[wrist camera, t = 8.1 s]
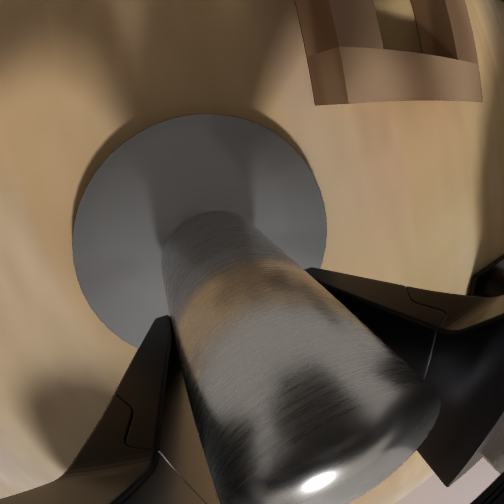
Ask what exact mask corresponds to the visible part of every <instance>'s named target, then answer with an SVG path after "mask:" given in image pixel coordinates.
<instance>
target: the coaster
mask: <svg viewBox="0 0 504 504" xmlns="http://www.w3.org/2000/svg"><path fill="white" fill-rule="evenodd" d="M208 211H227V212H232V213H235V214H238V215H240V216H242V217H244V218H245V219H247V220H248V221H249V222H250V223H252V224H253V225H254V226H255V227H256V228H257V229H259V230H260V231H261V232H262V233H263V234H264V235H265V236H267V237H268V238H269V239H270V240H271V241H272V242H273V243H274V244H276V245H277V246H278V247H279V248H280V249H281V250H282V251H284V252H285V253H286V254H287V255H288V256H289V257H290V258H291V259H293V260H294V261H295V262H296V263H297V264H298V265H299V266H300V267H302V268H303V269H307V268H310V267H314V268H319V269H320V267H321V264H322V261H323V257H324V252H325V247H326V237H327V221H326V212H325V206H324V201H323V198H322V195H321V191H320V188H319V186H318V184H317V182H316V179H315V177H314V175H313V173H312V172H311V170H310V169H309V167H308V165H307V164H306V162H305V161H304V160H303V158H302V157H301V156H300V155H299V154H298V153H297V152H296V150H295V149H294V148H293V147H292V146H290V145H289V144H288V143H287V142H286V141H285V140H283V139H282V138H281V137H279V136H278V135H276V134H275V133H273V132H272V131H270V130H268V129H267V128H265V127H262V126H260V125H258V124H256V123H253V122H251V121H248V120H244V119H241V118H237V117H234V116H227V115H219V114H194V115H188V116H182V117H177V118H173V119H170V120H167V121H164V122H161V123H158V124H155V125H153V126H151V127H149V128H147V129H145V130H143V131H141V132H139V133H137V134H136V135H134V136H133V137H132V138H130V139H129V140H127V141H126V142H124V143H123V144H122V145H120V146H119V147H118V148H117V149H116V150H115V151H114V152H113V153H112V154H111V155H110V156H109V157H108V158H107V159H106V160H105V161H104V162H103V164H102V165H101V166H100V167H99V169H98V170H97V171H96V173H95V174H94V176H93V177H92V179H91V181H90V182H89V184H88V186H87V188H86V189H85V192H84V194H83V197H82V199H81V202H80V204H79V207H78V210H77V214H76V218H75V223H74V230H73V241H72V246H73V261H74V266H75V271H76V275H77V279H78V282H79V284H80V287H81V290H82V292H83V294H84V296H85V298H86V300H87V302H88V303H89V305H90V307H91V308H92V310H93V311H94V312H95V314H96V315H97V317H98V318H99V319H100V320H101V321H102V322H103V323H104V324H105V325H106V326H107V327H108V328H109V329H110V330H111V331H112V332H113V333H114V334H116V335H117V336H118V337H120V338H121V339H122V340H124V341H125V342H127V343H129V344H131V345H132V346H134V347H136V348H138V349H139V347H140V345H141V343H142V341H143V340H144V338H145V336H146V334H147V332H148V331H149V329H150V327H151V325H152V323H153V322H154V320H155V319H156V318H158V317H161V316H165V315H169V310H168V304H167V299H166V294H165V288H164V282H163V277H162V270H161V258H162V253H163V250H164V247H165V244H166V242H167V240H168V238H169V237H170V235H171V234H172V233H173V231H174V230H175V229H176V228H177V227H178V226H179V225H180V224H182V223H183V222H184V221H186V220H187V219H189V218H191V217H193V216H195V215H197V214H200V213H203V212H208ZM169 316H170V315H169Z"/></svg>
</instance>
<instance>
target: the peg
mask: <svg viewBox="0 0 504 504" xmlns="http://www.w3.org/2000/svg"><path fill="white" fill-rule="evenodd" d="M161 270H162V277H163V282H164V288H165V294H166V299H167V304H168V310H169V315H170V319H171V324H172V329H173V334H174V338H175V343H176V348H177V353H178V357H179V362H180V366H181V370H182V374H183V378H184V382H185V387H186V391H187V394H188V398H189V402H190V406H191V410H192V413H193V417H194V421H195V424H196V428H197V431H198V435H199V438H200V442H201V445H202V448H203V452H204V455H205V458H206V462H207V465H208V468H209V471H210V474H211V477H212V480H213V483H214V486H215V489H216V492H217V495H218V498H219V501H220V504H348V503H350V502H352V501H353V500H355V499H357V498H359V497H360V496H362V495H363V494H365V493H367V492H368V491H370V490H371V489H373V488H374V487H375V486H377V485H378V484H380V483H381V482H382V481H384V480H385V479H386V478H387V477H389V476H390V475H391V474H392V473H393V472H395V471H396V470H397V469H398V468H399V467H400V466H401V465H402V464H403V463H404V462H405V461H406V460H407V459H408V458H409V457H410V456H411V455H412V454H413V453H414V452H415V451H416V450H417V448H418V447H419V446H420V445H421V444H422V442H423V441H424V440H425V438H426V437H427V435H428V434H429V432H430V431H431V429H432V427H433V426H434V424H435V422H436V420H437V417H438V414H439V412H440V407H441V398H440V395H439V394H438V392H437V391H436V390H435V389H434V388H433V387H432V386H430V385H429V384H428V383H427V382H426V381H425V380H424V379H423V378H422V377H421V376H420V375H419V374H418V373H417V372H416V371H415V370H413V369H412V368H411V367H410V366H409V365H408V364H407V363H406V362H405V361H404V360H403V359H402V358H401V357H400V356H398V355H397V354H396V353H395V352H394V351H393V350H392V349H391V348H390V347H389V346H388V345H387V344H385V343H384V342H383V341H382V340H381V339H380V338H379V337H378V336H377V335H376V334H375V333H374V332H372V331H371V330H370V329H369V328H368V327H367V326H366V325H365V324H364V323H363V322H362V321H360V320H359V319H358V318H357V317H356V316H355V315H354V314H353V313H352V312H351V311H349V310H348V309H347V308H346V307H345V306H344V305H343V304H342V303H341V302H340V301H338V300H337V299H336V298H335V297H334V296H333V295H332V294H331V293H330V292H328V291H327V290H326V289H325V288H324V287H323V286H322V285H321V284H320V283H318V282H317V281H316V280H315V279H314V278H313V277H312V276H311V275H309V274H308V273H307V272H306V271H305V270H304V269H303V268H302V267H300V266H299V265H298V264H297V263H296V262H295V261H294V260H293V259H291V258H290V257H289V256H288V255H287V254H286V253H285V252H284V251H282V250H281V249H280V248H279V247H278V246H277V245H276V244H274V243H273V242H272V241H271V240H270V239H269V238H268V237H267V236H265V235H264V234H263V233H262V232H261V231H260V230H259V229H257V228H256V227H255V226H254V225H253V224H252V223H250V222H249V221H248V220H247V219H245V218H244V217H242V216H240V215H238V214H235V213H232V212H227V211H208V212H203V213H200V214H197V215H195V216H193V217H191V218H189V219H187V220H186V221H184V222H183V223H182V224H180V225H179V226H178V227H177V228H176V229H175V230H174V231H173V233H172V234H171V235H170V237H169V238H168V240H167V242H166V244H165V247H164V250H163V253H162V258H161Z"/></svg>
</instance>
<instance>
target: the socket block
mask: <svg viewBox="0 0 504 504" xmlns="http://www.w3.org/2000/svg"><path fill="white" fill-rule="evenodd" d="M411 3H412V7H413V11H414V15H415V19H416V23H417V28H418V32H419V37H420V42H421V47H422V53H423V54H422V53H415V52H407V51H398V50H388V49H384V48H383V43H382V38H381V34H380V29H379V24H378V20H377V16H376V11H375V7H374V3H373V0H295V4H296V8H297V12H298V17H299V21H300V26H301V30H302V35H303V40H304V45H305V50H306V55H307V60H308V65H309V71H310V76H311V82H312V88H313V94H314V100H315V105H330V104H350V103H364V102H381V101H410V100H444V101H471V102H483V98H482V88H481V80H480V72H479V65H478V59H477V53H476V47H475V42H474V37H473V32H472V28H471V23H470V19H469V15H468V11H467V7H466V4H465V0H411Z"/></svg>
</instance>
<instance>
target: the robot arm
mask: <svg viewBox="0 0 504 504" xmlns="http://www.w3.org/2000/svg"><path fill="white" fill-rule="evenodd" d="M304 270H305V271H306V272H307V273H308V274H309V275H311V276H312V277H313V278H314V279H315V280H316V281H317V282H318V283H320V284H321V285H322V286H323V287H324V288H325V289H326V290H327V291H328V292H330V293H331V294H332V295H333V296H334V297H335V298H336V299H337V300H338V301H340V302H341V303H342V304H343V305H344V306H345V307H346V308H347V309H348V310H349V311H351V312H352V313H353V314H354V315H355V316H356V317H357V318H358V319H359V320H360V321H362V322H363V323H364V324H365V325H366V326H367V327H368V328H369V329H370V330H371V331H372V332H374V333H375V334H376V335H377V336H378V337H379V338H380V339H381V340H382V341H383V342H384V343H385V344H387V345H388V346H389V347H390V348H391V349H392V350H393V351H394V352H395V353H396V354H397V355H398V356H400V357H401V358H402V359H403V360H404V361H405V362H406V363H407V364H408V365H409V366H410V367H411V368H412V369H413V370H415V371H416V372H417V373H418V374H419V375H420V376H421V377H422V378H423V379H424V380H425V381H426V382H427V383H428V384H429V385H430V386H432V387H433V388H434V389H435V390H436V391H437V392H438V394H439V395H440V398H441V407H440V412H439V414H438V417H437V420H436V422H435V424H434V426H433V427H432V429H431V431H430V432H429V434H428V435H427V437H426V438H425V440H424V441H423V442H422V444H421V445H420V446H419V447H418V448H417V451H418V452H419V454H420V455H421V456H422V457H423V459H424V460H425V461H426V462H427V464H428V465H429V466H430V467H431V469H432V470H433V471H434V472H435V474H436V475H437V476H438V477H439V479H440V480H441V481H442V482H443V484H444V485H445V486H447V487H449V486H450V485H451V484H453V483H454V482H455V481H456V480H457V479H459V478H460V477H461V476H462V475H463V474H465V473H466V472H467V471H468V470H469V469H470V468H471V467H472V466H473V465H475V464H476V463H477V462H478V461H479V460H480V459H481V458H482V457H484V458H485V459H486V460H487V462H488V463H490V464H491V466H493V468H494V469H495V470H497V471H498V472H499V473H500V476H499V477H497V479H496V480H495V481H494V482H493V483H492V484H491V485H490V486H489V487H488V488H486V489H485V490H484V491H483V492H482V493H481V494H480V495H479V496H478V497H477V498H476V499H475V500H474V501H473V502H471V503H470V504H504V256H502V257H501V258H499V259H498V260H496V261H495V262H494V263H492V264H491V265H489V266H488V267H486V268H485V269H483V270H482V271H480V272H479V273H477V274H476V275H475V276H474V278H473V281H472V285H471V290H470V295H469V296H466V295H458V294H450V293H443V292H436V291H429V290H424V289H418V288H413V287H408V286H407V287H405V286H403V285H398V284H393V283H388V282H383V281H378V280H373V279H368V278H363V277H358V276H353V275H348V274H343V273H338V272H333V271H328V270H323V269H319V268H314V267H310V268H307V269H304ZM0 504H218V501H217V497H216V493H215V489H214V485H213V480H212V477H211V474H210V471H209V468H208V465H207V462H206V458H205V455H204V452H203V448H202V445H201V442H200V438H199V435H198V431H197V428H196V424H195V421H194V417H193V413H192V410H191V406H190V402H189V398H188V394H187V391H186V387H185V382H184V378H183V374H182V370H181V366H180V362H179V357H178V353H177V348H176V343H175V338H174V334H173V329H172V324H171V319H170V316H169V315H165V316H161V317H158V318H156V319H155V320H154V322H153V323H152V325H151V327H150V329H149V331H148V332H147V334H146V336H145V338H144V340H143V341H142V343H141V345H140V347H139V349H138V350H137V352H136V354H135V356H134V358H133V360H132V361H131V363H130V365H129V367H128V369H127V371H126V373H125V374H124V376H123V378H122V380H121V382H120V384H119V386H118V388H117V389H116V391H115V394H114V395H113V397H112V399H111V401H110V403H109V405H108V406H107V408H106V410H105V412H104V414H103V415H102V417H101V419H100V420H99V422H98V424H97V425H96V427H95V428H94V430H93V432H92V433H91V435H90V436H89V438H88V439H87V441H86V442H85V444H84V445H83V447H82V449H81V450H80V452H79V453H78V455H77V456H76V458H75V459H74V461H73V462H72V464H71V465H70V467H69V468H68V470H67V471H66V472H65V473H64V474H63V475H62V476H61V477H59V478H58V479H56V480H55V481H53V482H51V483H48V484H46V485H43V486H40V487H37V488H34V489H31V490H28V491H25V492H22V493H19V494H16V495H13V496H9V497H6V498H3V499H0Z"/></svg>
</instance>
